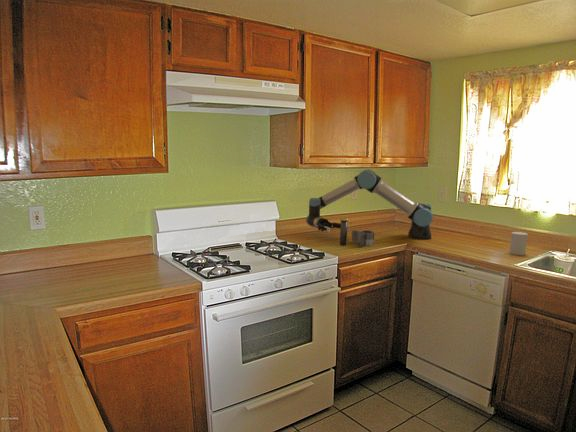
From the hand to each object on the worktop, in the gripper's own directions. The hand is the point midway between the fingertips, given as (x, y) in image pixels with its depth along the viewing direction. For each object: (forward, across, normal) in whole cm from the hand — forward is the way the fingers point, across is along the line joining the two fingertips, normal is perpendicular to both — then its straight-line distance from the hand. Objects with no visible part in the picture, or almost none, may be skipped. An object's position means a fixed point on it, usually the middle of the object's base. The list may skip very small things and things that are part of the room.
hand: (339, 229), depth 258 cm
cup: (+60, -85, -9) cm, 104 cm away
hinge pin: (+4, 0, -9) cm, 10 cm away
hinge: (+8, -10, -9) cm, 16 cm away
